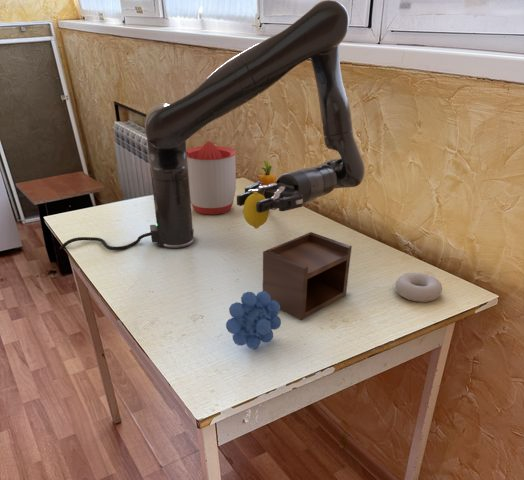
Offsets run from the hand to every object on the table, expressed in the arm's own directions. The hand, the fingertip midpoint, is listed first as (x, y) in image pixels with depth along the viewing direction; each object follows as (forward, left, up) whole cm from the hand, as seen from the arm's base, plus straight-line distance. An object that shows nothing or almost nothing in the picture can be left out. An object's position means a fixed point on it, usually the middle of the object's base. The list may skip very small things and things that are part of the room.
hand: (247, 204), depth 105 cm
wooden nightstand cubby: (+10, -11, -18) cm, 23 cm away
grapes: (-4, -28, -18) cm, 34 cm away
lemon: (+2, +1, -6) cm, 7 cm away
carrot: (+14, +44, -18) cm, 49 cm away
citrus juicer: (-3, +50, -18) cm, 53 cm away
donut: (+35, -14, -18) cm, 42 cm away
